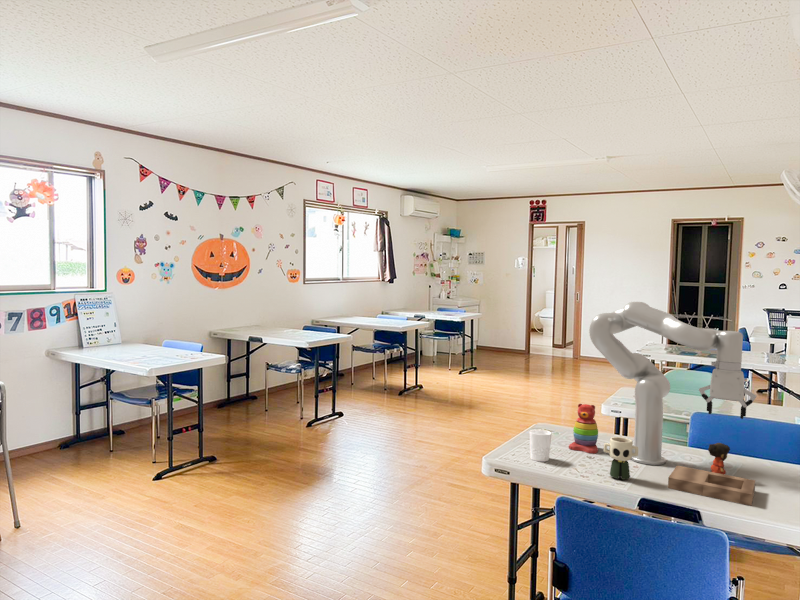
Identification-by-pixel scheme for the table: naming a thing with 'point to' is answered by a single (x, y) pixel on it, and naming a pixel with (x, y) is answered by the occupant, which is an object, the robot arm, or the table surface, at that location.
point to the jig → (712, 485)
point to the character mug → (620, 456)
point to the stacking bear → (585, 430)
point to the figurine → (718, 457)
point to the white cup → (540, 445)
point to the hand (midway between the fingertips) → (725, 415)
